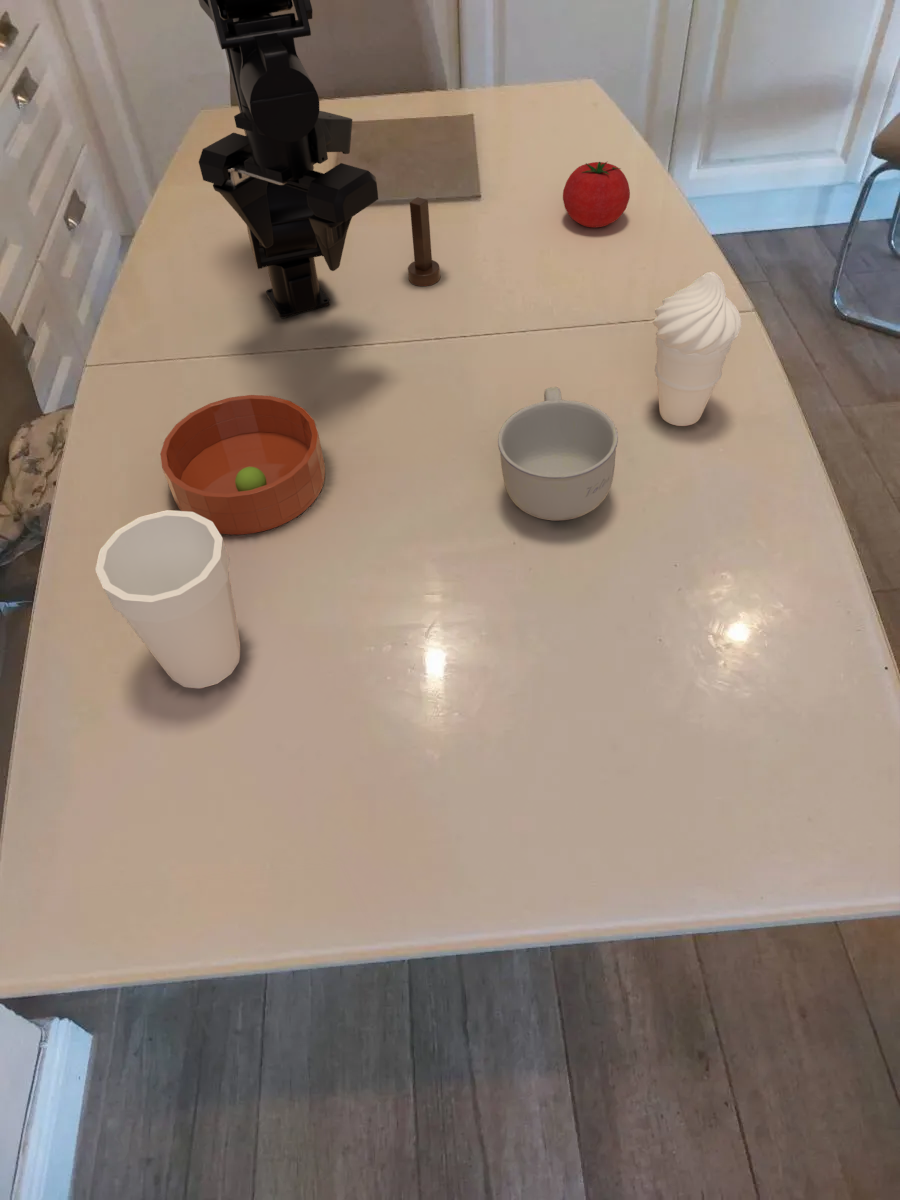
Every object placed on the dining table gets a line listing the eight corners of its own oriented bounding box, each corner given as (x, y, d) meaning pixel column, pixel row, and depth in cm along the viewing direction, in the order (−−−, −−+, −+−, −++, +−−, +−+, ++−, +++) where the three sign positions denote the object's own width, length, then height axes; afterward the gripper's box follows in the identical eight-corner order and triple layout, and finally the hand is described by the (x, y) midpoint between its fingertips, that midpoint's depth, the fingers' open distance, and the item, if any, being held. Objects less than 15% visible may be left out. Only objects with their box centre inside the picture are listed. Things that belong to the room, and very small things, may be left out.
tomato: (637, 214, 124) (644, 154, 118) (609, 243, 119) (614, 183, 113) (580, 200, 127) (583, 141, 121) (549, 228, 123) (552, 168, 116)
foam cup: (156, 620, 81) (107, 515, 71) (260, 610, 81) (226, 504, 71) (142, 709, 75) (86, 608, 65) (254, 698, 75) (216, 595, 65)
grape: (227, 467, 88) (237, 490, 87) (256, 456, 89) (266, 478, 87) (236, 486, 91) (245, 508, 89) (264, 474, 91) (273, 496, 90)
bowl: (159, 460, 95) (145, 422, 91) (298, 417, 99) (290, 378, 95) (195, 555, 86) (180, 517, 82) (346, 503, 89) (339, 464, 86)
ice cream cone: (671, 449, 92) (696, 308, 80) (624, 405, 97) (640, 266, 85) (737, 422, 95) (771, 281, 82) (687, 380, 100) (713, 242, 87)
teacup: (605, 543, 84) (612, 479, 78) (489, 530, 86) (488, 466, 80) (617, 446, 93) (625, 381, 87) (513, 437, 95) (513, 372, 89)
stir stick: (402, 280, 116) (395, 204, 108) (421, 266, 118) (415, 190, 110) (427, 289, 114) (422, 212, 107) (446, 275, 116) (442, 198, 109)
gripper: (405, 86, 84) (418, 246, 96) (257, 52, 91) (286, 204, 103) (327, 131, 78) (351, 296, 90) (176, 91, 86) (217, 247, 97)
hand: (301, 257), depth 95 cm, fingers open, 9 cm apart
